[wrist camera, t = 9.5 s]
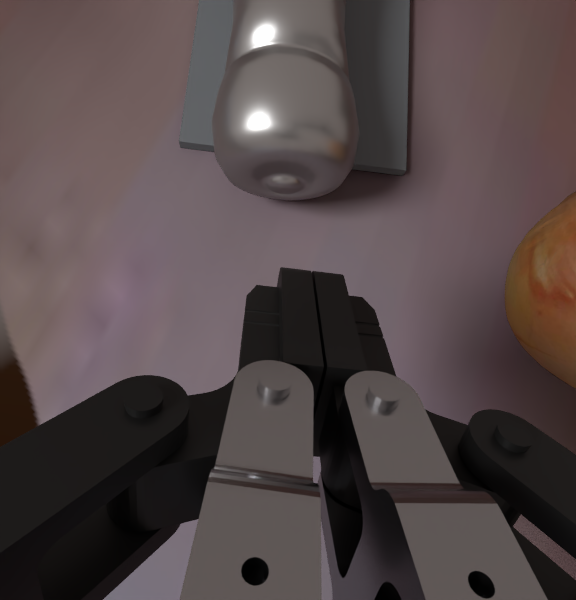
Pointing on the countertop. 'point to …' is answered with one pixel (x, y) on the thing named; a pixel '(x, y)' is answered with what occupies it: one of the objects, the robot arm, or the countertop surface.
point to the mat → (361, 66)
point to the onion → (546, 291)
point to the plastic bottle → (286, 100)
